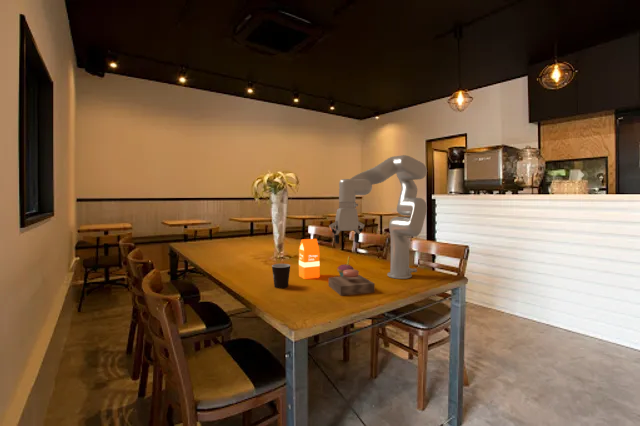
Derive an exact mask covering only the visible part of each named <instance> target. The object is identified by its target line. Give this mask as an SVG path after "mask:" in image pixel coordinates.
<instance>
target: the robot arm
mask: <svg viewBox="0 0 640 426" xmlns="http://www.w3.org/2000/svg"><path fill="white" fill-rule="evenodd" d="M427 169H428V168H427V166H426V165H425V164H424V163H423V162H421V161H420V160H418V159H416V158H413V157H411V156H409V155H406V154H403V155H395V156H390V157H388V158H386V159H385V160H383V161H382V162H381V163H379V164H377V165H375V166H374V167H372V168H369V169H367V170H364V171H361V172H359V173H358V174H356V175H354V176H352V177H351V178H343V179H340V180H339V183H338V187H339V189H338V208H337V209H336V213H335V219H334V220H335V222H333V223H331V224H329V225H328V227H329V229H330V231H331V232H332V233H333V235H334V242H335V244H337V245H338V244H340V235H339V234H340V232H342V231H343V232H344V231H345V232H346V231H347V232H349V231H350V232H351V231H353V232H354V235H353V237H354V243H356V244H359V241H360V235H361V233H362V231H363V229H364V228H365V224H364V223H362V222H360V221H359V215H358V210H357V208H356V207H358V206H359V203H357V202H356V196H366V195H370V193H371V192H372V190H373V185H377V184H381V183H384V182H386V180H387V181H388V179H389V178H391V177H393V176H394V175H396V176H397V180H398V181H399V183H400V186H401V188H400V193H399V197H398V200H397V204H396V212H397V213H398V214H399V215H402V216H395V217H392V218H391V219H390V221H389V222H388V230H389V234H390V271H389V272H387V274H386V275H387V276H388V277H389V278H391V279H399V280H405V279H411V278H413V277H412V276H413V275H412V273H417V272H418V269H417V268H412V267H410V240H409V238H408V237H417V236H419V235H421V232H422V231H423V226H424V223H425V219H426V215H427V210H428V206H427V202H426V201H425V199H423V198H421V197H417V195H418V187H417V184H416V183H415V181H416V180H417V181H418V180H422V179H424V178H426V176H427V174H428V173H427V172H428V170H427ZM414 180H415V181H414ZM406 216H407V217H406ZM408 216H409V217H408Z"/></svg>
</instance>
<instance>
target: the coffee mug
mask: <svg viewBox="0 0 640 426" xmlns="http://www.w3.org/2000/svg"><path fill="white" fill-rule="evenodd" d="M271 270H272V276H273V286H274V288H275V289H286V288H288V287H289V282H290V281H289V280H290V272H291V271H290V270H291V264H289V263H274V264H272V265H271Z"/></svg>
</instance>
